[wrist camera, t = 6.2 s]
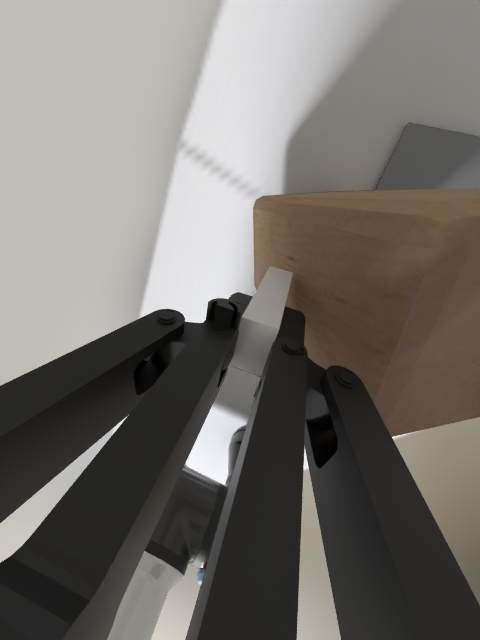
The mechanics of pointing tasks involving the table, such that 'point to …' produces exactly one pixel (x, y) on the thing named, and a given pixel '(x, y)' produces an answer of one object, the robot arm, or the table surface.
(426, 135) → the mat
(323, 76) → the table surface
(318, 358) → the wooden block
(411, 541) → the robot arm
